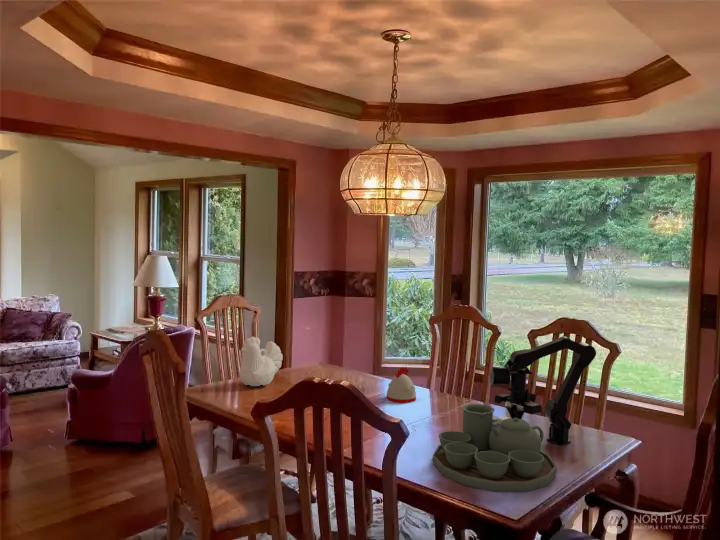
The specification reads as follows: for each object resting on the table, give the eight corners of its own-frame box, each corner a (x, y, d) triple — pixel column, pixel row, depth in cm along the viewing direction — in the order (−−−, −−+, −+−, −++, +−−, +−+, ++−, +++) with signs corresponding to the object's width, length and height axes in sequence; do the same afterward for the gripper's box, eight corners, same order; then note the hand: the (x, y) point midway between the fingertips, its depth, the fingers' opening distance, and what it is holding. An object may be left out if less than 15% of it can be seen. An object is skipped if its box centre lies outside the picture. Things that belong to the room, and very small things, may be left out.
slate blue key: (500, 425, 235) (501, 418, 234) (493, 427, 232) (493, 419, 232) (493, 422, 238) (493, 415, 238) (486, 424, 236) (486, 416, 235)
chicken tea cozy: (422, 399, 279) (423, 368, 278) (401, 404, 270) (402, 372, 269) (400, 393, 290) (401, 362, 289) (380, 398, 280) (381, 366, 280)
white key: (512, 426, 230) (512, 419, 229) (504, 428, 227) (505, 420, 227) (504, 424, 233) (504, 416, 233) (497, 425, 231) (497, 418, 231)
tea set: (409, 466, 199) (410, 418, 198) (477, 439, 227) (478, 396, 226) (515, 507, 171) (517, 450, 170) (577, 470, 199) (579, 421, 198)
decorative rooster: (246, 391, 286) (247, 340, 284) (233, 384, 298) (233, 335, 297) (292, 385, 300) (293, 336, 299) (277, 378, 313) (278, 331, 312)
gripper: (552, 388, 221) (550, 429, 222) (513, 377, 237) (512, 416, 237) (532, 392, 215) (530, 434, 216) (494, 380, 230) (492, 420, 231)
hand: (516, 425), depth 225 cm, fingers closed, pressing on terracotta key
